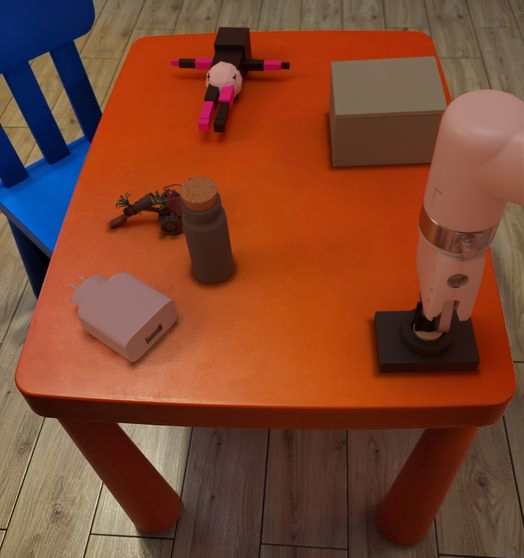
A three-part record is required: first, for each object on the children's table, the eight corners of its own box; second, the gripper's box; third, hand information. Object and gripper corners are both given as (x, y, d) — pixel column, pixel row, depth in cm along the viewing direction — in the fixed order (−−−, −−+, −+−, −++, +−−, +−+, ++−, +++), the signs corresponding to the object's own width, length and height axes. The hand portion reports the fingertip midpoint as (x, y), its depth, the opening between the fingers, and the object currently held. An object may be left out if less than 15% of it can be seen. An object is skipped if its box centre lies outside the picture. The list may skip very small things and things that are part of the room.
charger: (103, 271, 89) (179, 318, 83) (56, 313, 85) (133, 365, 79) (93, 249, 85) (173, 297, 79) (44, 291, 81) (124, 345, 76)
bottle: (233, 284, 86) (220, 205, 73) (191, 284, 86) (172, 206, 74) (234, 252, 89) (223, 172, 77) (195, 253, 90) (177, 173, 77)
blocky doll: (294, 59, 115) (293, 25, 109) (277, 146, 102) (275, 113, 96) (181, 56, 118) (175, 23, 112) (151, 141, 104) (142, 108, 99)
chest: (420, 109, 104) (428, 61, 97) (431, 162, 97) (441, 115, 90) (329, 113, 105) (330, 66, 98) (333, 166, 98) (335, 119, 91)
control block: (465, 318, 80) (472, 300, 77) (476, 370, 76) (483, 353, 73) (373, 321, 81) (376, 302, 78) (379, 372, 77) (382, 355, 73)
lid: (434, 60, 97) (434, 55, 96) (447, 114, 90) (448, 109, 89) (330, 66, 98) (331, 61, 97) (335, 119, 91) (335, 114, 90)
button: (438, 322, 77) (441, 314, 76) (443, 346, 75) (445, 338, 74) (410, 323, 78) (412, 315, 76) (413, 346, 76) (415, 338, 74)
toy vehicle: (209, 218, 90) (179, 185, 84) (128, 257, 95) (95, 228, 89) (208, 187, 93) (179, 153, 88) (130, 226, 99) (98, 196, 93)
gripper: (514, 276, 55) (467, 378, 71) (483, 165, 64) (447, 278, 79) (430, 278, 56) (402, 379, 71) (411, 168, 64) (389, 279, 79)
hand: (426, 325), depth 75 cm, fingers closed
